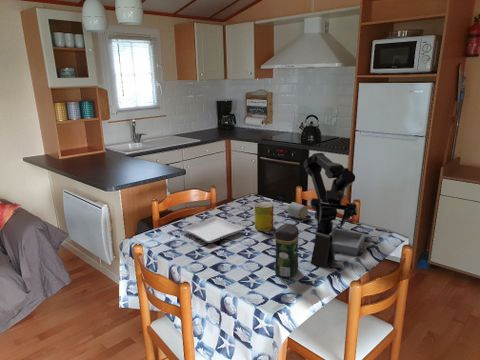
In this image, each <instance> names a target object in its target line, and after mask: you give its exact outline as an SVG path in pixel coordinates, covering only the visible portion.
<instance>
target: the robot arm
mask: <svg viewBox="0 0 480 360" xmlns="http://www.w3.org/2000/svg"><path fill="white" fill-rule="evenodd" d="M303 168H304V170H305V172H306V174H307V175H308V176H310V178H311V182H312V184H313V187H314V191H315V194H316V197H317V198H314V197H313V198H312V199H311V200H310V205H311V208H312V209H313V210H314V214H313V215H314V219H315V220H316V221H317V226H316V227H317V228H316V231H315V232H316V233H318V232H321V233H324V234H328V235H329V234H330V233H331V231H332V230H333V229H334V222H333V221H335V220H336V218H337V215H338V210H339V211H340V210H341V211H343V214H342V218H341V220H340V225H339V227H340V228H342V227H343V226H344V224H346V222H347V221H348V220H349V219H350V218H351V217H354V216H358V205H357V203H353V202H346V203H345V204H344V205H343V201H344V199H345V191H346V189H347V188H349V186H351V185H352V184H353V183H354V182H355V180H356V175H355V173H354V172H352V171H351V170H349V168H348V167H344V166H343V164H341V163H339V162H337V163H336V162H333V161H332V160H331V159H330V158H328V157H327V156H326V155H325V153H324V152H314V153H313V154H311V156H309V157H307V158H306V159H305V160H304V161H303ZM322 169H323V170H324V175H325V176H326V177H327V179H333V180H332V183H331V188H330V190H327V189H326V187H325V183H324V179H323V177H322V174H321V172H322Z"/></svg>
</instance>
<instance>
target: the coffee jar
mask: <svg viewBox="0 0 480 360" xmlns="http://www.w3.org/2000/svg"><path fill="white" fill-rule="evenodd" d="M274 235H275V236H274V241H275V262H274V263H275V266H274V267H275V268H274V273H275V274H276V275H277V276H278V277H281V278H292V277H294V276H295V275H296V274H297V272H298V270H299V227H298V226H297V225H296V224H292V223H284V224H281V225H280V226H278V227H277V229H276V230H275V232H274Z"/></svg>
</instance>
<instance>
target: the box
mask: <svg viewBox="0 0 480 360" xmlns="http://www.w3.org/2000/svg"><path fill="white" fill-rule="evenodd" d="M329 235H332V237H333V239H332V243H333V250H334V253H341V254H346V255H351V256H356V257H357V256H358V255H359V252H360V250H361V249H362V247H363V245H364V244H365V238H366V233H362V232H357V231H350V230H343V229H339V228H333V230H332V231H331V233H330V234H329Z"/></svg>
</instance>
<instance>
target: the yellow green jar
mask: <svg viewBox="0 0 480 360" xmlns="http://www.w3.org/2000/svg"><path fill="white" fill-rule="evenodd" d="M254 229H255V230H256V231H258V230H259V232H269V231H270V232H271V231H273V229H274V203H273V202H269V201H259V202H256V203H254Z"/></svg>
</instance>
